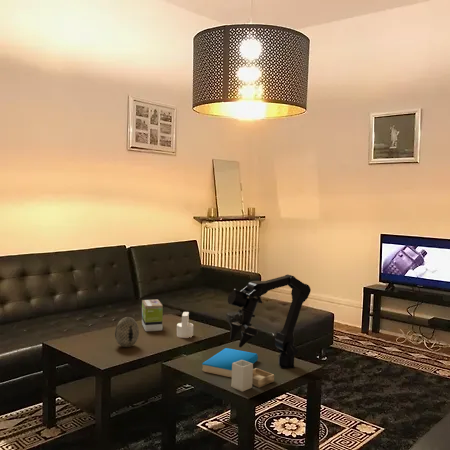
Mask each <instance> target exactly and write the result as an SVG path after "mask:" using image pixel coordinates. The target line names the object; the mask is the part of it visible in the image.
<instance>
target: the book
mask: <svg viewBox="0 0 450 450" xmlns="http://www.w3.org/2000/svg"><path fill="white" fill-rule="evenodd" d="M240 360H244V361H247V362H250V363H253V365H254V364H255V363H256V362H258V360H259V356H258V353H255V352H251V351H250V352H249V351H245V350H239V349H234V348H229V347H225V348H223V349H222V350H221V351H219V352H217V353H216V354H214V355H213V356H211V357H209V358H208V359H207V360H205V361H204V362H202V363H201V365H202V372H204V373H208V374H209V373H210V374H215V375H218V376H222V377H223V376H224V377H229V378H232V363H234V362H237V361H240Z"/></svg>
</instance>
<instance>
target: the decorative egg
mask: <svg viewBox="0 0 450 450" xmlns="http://www.w3.org/2000/svg"><path fill="white" fill-rule="evenodd" d="M139 329H140V328H139V325H138V322H137V321H136V320H135V319H134V318H133V317H130V316H125V317H123V318H121V319H120V320H119V321H118V323H117V325H116V327H115V330H114V331H115V332H114V338H115V341H116V342H117V344H118V345H119V346H121V347H123V348H130V347H132V346H134V345H135V344H136V343H137V341H138V339H139V335H140V330H139Z"/></svg>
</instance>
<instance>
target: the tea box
mask: <svg viewBox="0 0 450 450" xmlns="http://www.w3.org/2000/svg"><path fill="white" fill-rule="evenodd" d="M163 307H164V306H163V303H162V302H161V301H160V300H159V299H141V324H142V327H143V329H144V331H145V332H159V331H163V315H164V314H163V313H164V308H163Z"/></svg>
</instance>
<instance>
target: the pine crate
mask: <svg viewBox="0 0 450 450" xmlns="http://www.w3.org/2000/svg"><path fill="white" fill-rule="evenodd" d="M274 382H275V374H274V373H271V372H268V371H266V370H263V369H260V368H258V367H255V368H253V377H252V387H253V386H254V387H256V388H262V387H264V386H266V385H269V384H270V383H274Z"/></svg>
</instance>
